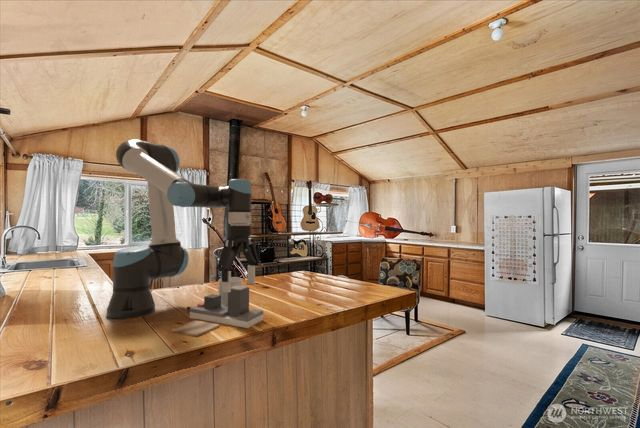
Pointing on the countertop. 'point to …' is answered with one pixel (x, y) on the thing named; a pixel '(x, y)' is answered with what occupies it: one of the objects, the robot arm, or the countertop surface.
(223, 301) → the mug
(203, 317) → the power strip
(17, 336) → the countertop surface
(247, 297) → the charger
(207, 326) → the coaster
